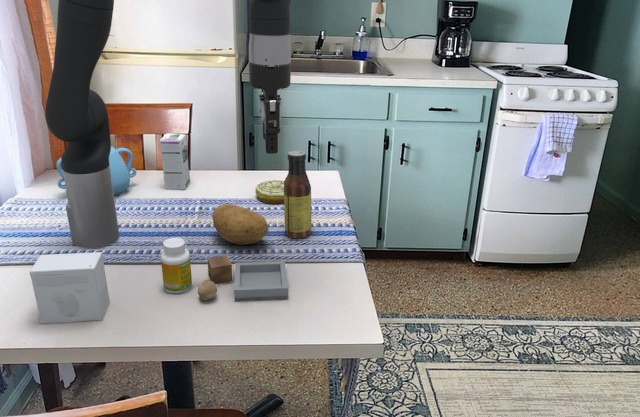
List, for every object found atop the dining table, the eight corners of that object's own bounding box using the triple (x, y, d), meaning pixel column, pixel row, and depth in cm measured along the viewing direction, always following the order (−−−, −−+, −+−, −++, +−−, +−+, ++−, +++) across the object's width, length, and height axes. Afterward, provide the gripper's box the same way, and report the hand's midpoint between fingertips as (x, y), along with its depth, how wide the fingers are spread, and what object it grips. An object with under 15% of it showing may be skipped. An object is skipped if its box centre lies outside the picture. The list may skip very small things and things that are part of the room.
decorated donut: (303, 200, 146) (303, 187, 145) (268, 208, 141) (267, 195, 139) (283, 187, 154) (283, 175, 153) (249, 195, 148) (249, 182, 147)
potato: (250, 259, 116) (250, 225, 113) (203, 240, 123) (201, 208, 120) (279, 242, 124) (279, 210, 121) (232, 225, 131) (231, 194, 128)
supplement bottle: (185, 296, 103) (181, 250, 99) (158, 292, 104) (153, 247, 100) (196, 281, 108) (193, 237, 104) (171, 277, 109) (167, 234, 105)
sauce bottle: (316, 234, 128) (319, 153, 120) (297, 242, 124) (299, 159, 116) (297, 225, 132) (298, 146, 124) (278, 233, 128) (277, 152, 120)
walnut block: (212, 285, 107) (211, 267, 105) (208, 275, 110) (207, 258, 109) (232, 281, 108) (231, 264, 107) (227, 272, 112) (227, 254, 110)
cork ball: (197, 304, 101) (196, 287, 99) (198, 293, 104) (197, 277, 103) (217, 303, 101) (216, 286, 100) (218, 292, 104) (217, 276, 103)
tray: (234, 301, 102) (234, 290, 101) (235, 273, 111) (235, 262, 110) (288, 299, 103) (288, 288, 102) (284, 271, 112) (284, 261, 111)
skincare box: (110, 299, 101) (102, 250, 97) (103, 320, 95) (94, 269, 91) (50, 303, 100) (40, 252, 95) (39, 324, 94) (27, 272, 90)
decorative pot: (105, 208, 138) (97, 157, 132) (53, 198, 142) (44, 148, 137) (143, 186, 152) (139, 139, 146) (95, 177, 156) (89, 131, 151)
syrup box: (185, 190, 150) (181, 139, 144) (164, 189, 150) (159, 138, 144) (190, 182, 155) (186, 133, 149) (169, 182, 155) (165, 132, 149)
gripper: (247, 53, 104) (249, 135, 111) (250, 66, 91) (251, 158, 98) (286, 53, 105) (285, 134, 112) (295, 67, 92) (293, 157, 99)
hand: (270, 145), depth 105 cm, fingers open, 8 cm apart
